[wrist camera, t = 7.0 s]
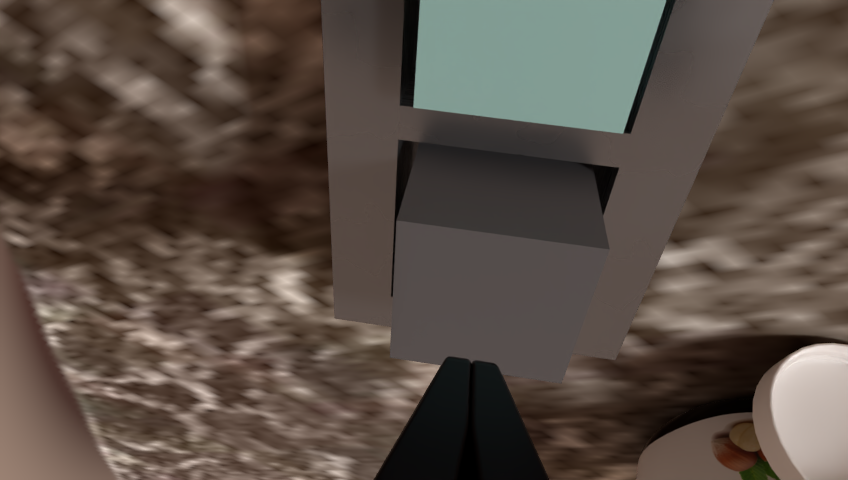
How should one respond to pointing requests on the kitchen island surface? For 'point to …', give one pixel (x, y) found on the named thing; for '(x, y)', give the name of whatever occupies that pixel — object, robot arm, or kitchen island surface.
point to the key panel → (523, 147)
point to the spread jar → (763, 427)
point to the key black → (495, 260)
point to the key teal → (535, 59)
